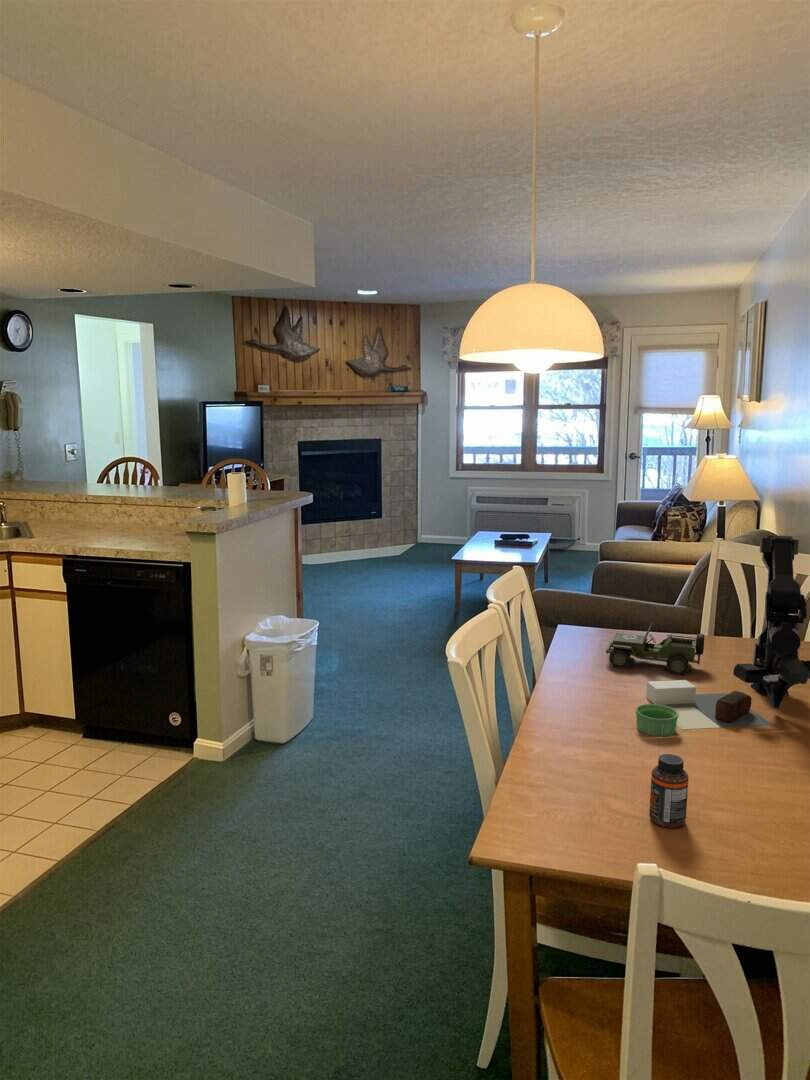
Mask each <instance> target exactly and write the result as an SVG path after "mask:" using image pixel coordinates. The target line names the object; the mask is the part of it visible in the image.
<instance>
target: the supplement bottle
mask: <svg viewBox="0 0 810 1080" xmlns="http://www.w3.org/2000/svg"><path fill="white" fill-rule="evenodd" d="M688 793H689V774H688V772H687V771H686V770H685V769H684V758H682V756H680V755H677V754H672V753H662V754H660V755H659V756H658V761H657V765H656V766H654V767H653V768H652V771H651V779H650V796H649V811H648V813H649V818H650V820H651V821H652V822H653V823H655V824H656V825H658V826H660V827H663V828H667V829H677V828H680V827H683V826H684V825H685V823H686V819H687V807H688V797H689V796H688Z"/></svg>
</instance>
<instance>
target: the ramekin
mask: <svg viewBox="0 0 810 1080" xmlns="http://www.w3.org/2000/svg"><path fill="white" fill-rule="evenodd" d="M635 715H636V728H637V730H638V731H640V732H641V733H643V734H645V735H649V736H653V737H662V738H666V737H669V736H673V735H674V734H675V733H676V729H677V725H676V724H677V719H678V716H679V713H678V712H677V711H676V710H675V709H673V708H671V707H668V706H664V705H659V704H653V703H645V704H640V705H638V706H636V707H635Z"/></svg>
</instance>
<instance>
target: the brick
mask: <svg viewBox="0 0 810 1080" xmlns="http://www.w3.org/2000/svg"><path fill="white" fill-rule="evenodd" d="M727 694H728V695H726V696H724V697H722V698H720V699H718V700H717V703H716V711H715V713H716V714H715V719H717V720H721V721H724V722H728V723H732V722H733V721H735V720H737V719H739V718H740V717H742V716H744V715H745V714H747V713H748V712H749V711H750V709H751V706H752V699H753V698H752V697H751V695H749V694H747V693H745V692H742V691H738V690H733V691H732V692H730V693H727Z"/></svg>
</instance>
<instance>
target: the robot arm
mask: <svg viewBox="0 0 810 1080" xmlns="http://www.w3.org/2000/svg"><path fill="white" fill-rule="evenodd" d="M799 544H800V540H799V539H795V538H794V537H793V535H792V536H791V535H774V534H773V535H772V534H766V535H765V537H761V538H760V541H759V553H761V555H762V556H761V561H762V562H763V565H764V566H765V567H766V569H767V588H766V591H765V596H764V597H765V598H764V619H765V624H764V626H765V627H764V629H763V630H762V632H761V633H760V634H759V636H758V638H757V643H754V648H753V653H752V663H737V664H735V666H734V668H733V673H732V674H733V676H734V677H735V678H737V679H739V680H741V681H743V682H744V683H746V684H750V687H751V688H752V689H754V690H757V691H758V692H759V693H760V694H762V695H766V696H767V697H768V699H769V702H770V704H771V707H772V708H773V709H778V708H780V705H781V704H782V702H783V699H784V698H785V696H786V695H788V694H789V689H790V688H791V687H793V686H796V685H799V684H802V685H806V684H807V682H808V679H809V680H810V660H804V659H800V658H799V651H798V650H799V649H800V647H801V644H802V643H801V639H800V635H799V633H798V631H797V624H804V623H805V620H806V619H807V617H808V616H807V599H806V598H805V595H804V594H802V591H801V584H799V583H798V581H797V580H795V579H794V578H795V577H794V562H793V561H794V560H795V556H798V555H799V548H800V547H799ZM798 614H799V615H798Z"/></svg>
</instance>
